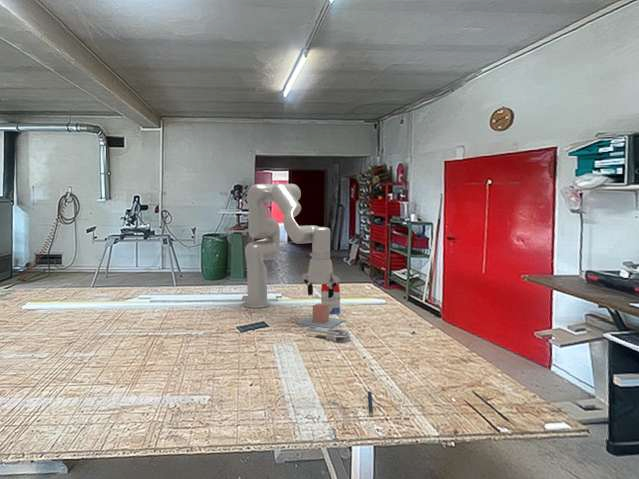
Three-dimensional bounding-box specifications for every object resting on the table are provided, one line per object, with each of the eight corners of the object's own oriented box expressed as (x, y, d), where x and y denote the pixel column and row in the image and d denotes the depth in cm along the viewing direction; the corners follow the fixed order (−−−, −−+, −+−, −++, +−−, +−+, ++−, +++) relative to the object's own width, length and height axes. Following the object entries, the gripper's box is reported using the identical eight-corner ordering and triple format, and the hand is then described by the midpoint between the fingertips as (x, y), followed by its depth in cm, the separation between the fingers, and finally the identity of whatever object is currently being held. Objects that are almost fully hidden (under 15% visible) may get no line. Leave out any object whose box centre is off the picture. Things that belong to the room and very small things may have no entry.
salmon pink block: (312, 321, 209) (312, 305, 208) (318, 319, 213) (318, 303, 213) (323, 323, 207) (323, 307, 206) (328, 320, 211) (328, 304, 210)
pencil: (371, 394, 136) (373, 419, 122) (367, 394, 136) (369, 418, 122) (371, 391, 136) (373, 415, 121) (367, 391, 136) (369, 415, 122)
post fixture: (296, 324, 207) (296, 308, 207) (311, 316, 220) (312, 302, 219) (330, 329, 200) (330, 313, 200) (344, 321, 213) (344, 306, 212)
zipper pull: (313, 332, 196) (313, 321, 196) (353, 338, 187) (354, 327, 187) (302, 337, 189) (302, 326, 189) (344, 344, 181) (344, 332, 180)
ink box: (340, 311, 230) (340, 280, 228) (339, 314, 225) (339, 282, 224) (322, 311, 231) (322, 280, 229) (320, 313, 226) (321, 282, 224)
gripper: (298, 255, 208) (298, 295, 210) (335, 259, 200) (335, 300, 202) (307, 253, 215) (306, 292, 216) (343, 256, 207) (342, 296, 209)
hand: (320, 296), depth 209 cm, fingers open, 9 cm apart
